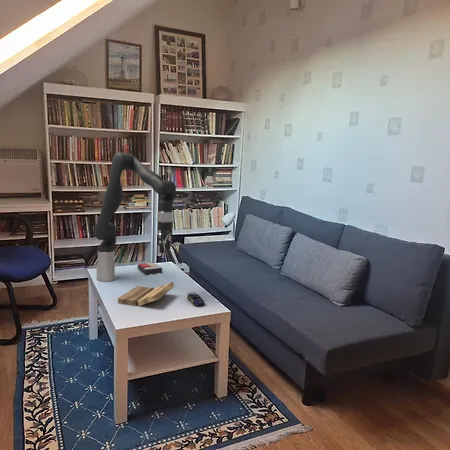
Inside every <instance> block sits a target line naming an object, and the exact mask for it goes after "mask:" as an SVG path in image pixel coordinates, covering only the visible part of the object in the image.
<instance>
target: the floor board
mask: <svg viewBox="0 0 450 450" xmlns="http://www.w3.org/2000/svg"><path fill="white" fill-rule="evenodd" d="M153 289H155V287H147V286H140V285H137V286H135V287H134V288H132V289H130V290H129V291H127V292H126V293H124V294H122V295H121V296H120V297H117V304H120V305H127V306H135V307H137V306H139V304H138V302H137V301H138V300H139V299H141V298H142V297H144V296H145V295H146V294H148V293H149V292H151V291H152V290H153Z"/></svg>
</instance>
